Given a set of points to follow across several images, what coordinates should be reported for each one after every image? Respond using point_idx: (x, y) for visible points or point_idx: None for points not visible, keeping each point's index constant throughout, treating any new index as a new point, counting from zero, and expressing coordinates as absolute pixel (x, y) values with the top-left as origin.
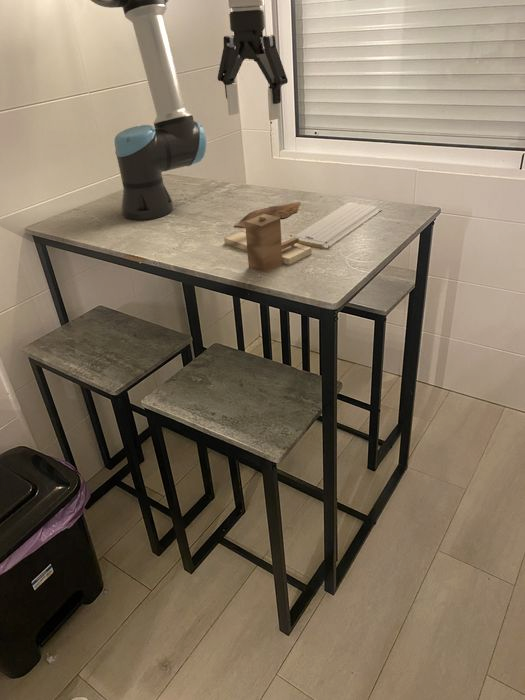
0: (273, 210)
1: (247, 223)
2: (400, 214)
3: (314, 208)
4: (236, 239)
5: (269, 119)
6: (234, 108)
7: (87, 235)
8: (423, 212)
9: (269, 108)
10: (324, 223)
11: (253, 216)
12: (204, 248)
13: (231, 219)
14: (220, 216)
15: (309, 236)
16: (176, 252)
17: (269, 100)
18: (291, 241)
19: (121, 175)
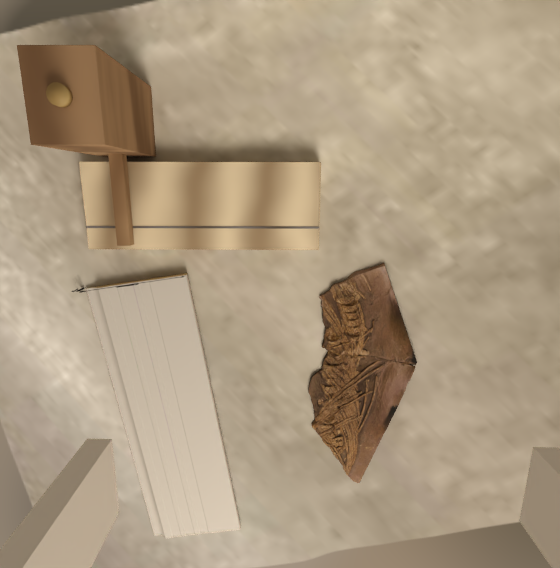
0: (371, 402)
1: (85, 47)
2: None
3: (295, 467)
4: (283, 174)
5: (106, 442)
6: (551, 519)
7: None
8: None
9: (57, 500)
10: (188, 394)
11: (386, 342)
12: (341, 104)
13: (430, 299)
14: (475, 298)
15: (157, 310)
16: (388, 31)
17: (7, 560)
18: (114, 217)
19: None
